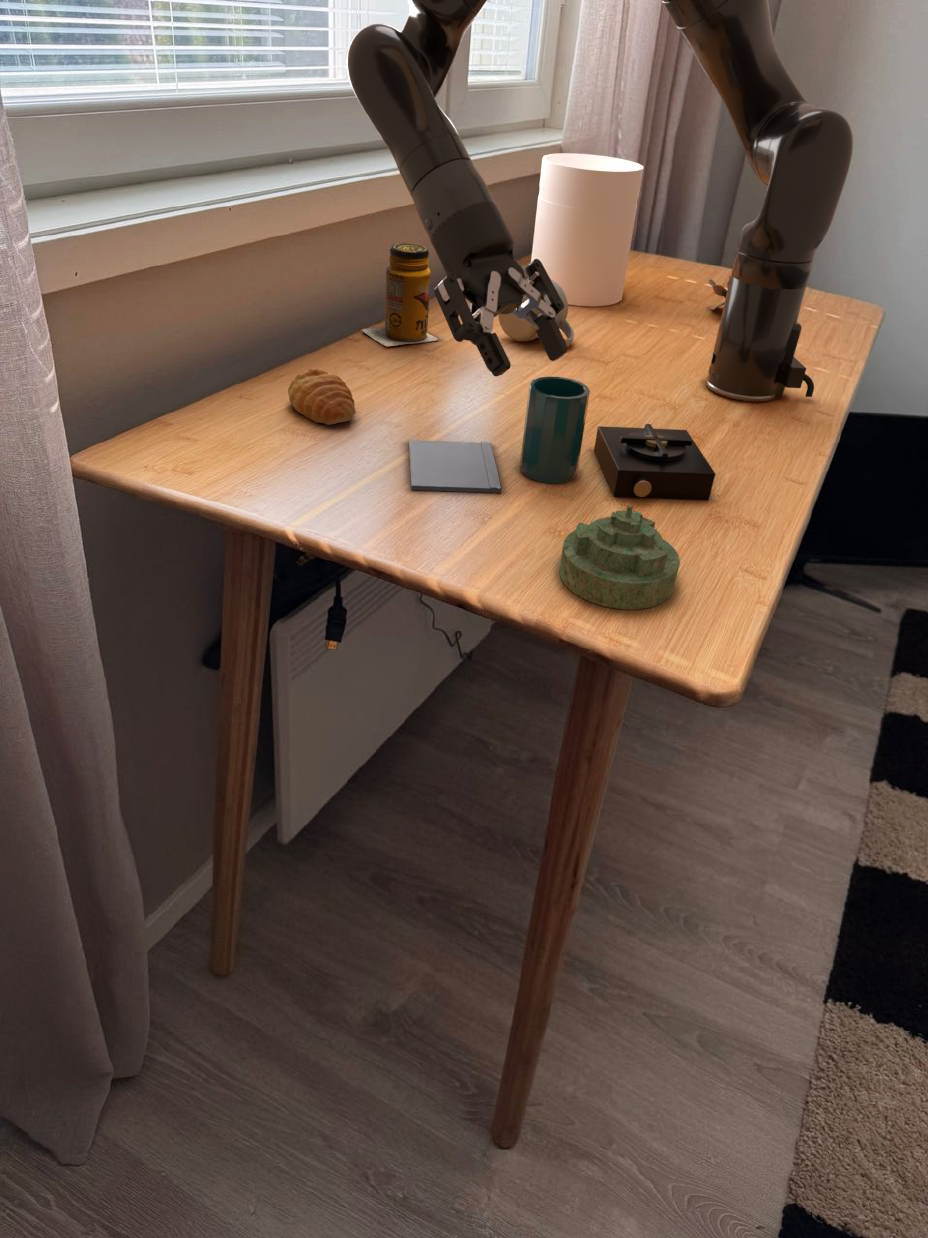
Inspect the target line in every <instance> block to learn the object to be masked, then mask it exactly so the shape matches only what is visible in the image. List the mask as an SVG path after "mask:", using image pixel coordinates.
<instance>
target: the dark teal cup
mask: <svg viewBox="0 0 928 1238" xmlns="http://www.w3.org/2000/svg"><path fill="white" fill-rule="evenodd" d="M590 394H591V390H590V388H589V386H588V385H587V384H585V383H583V382H581V381H579V380H576V379H573V378H568V377H562V376H541V377H536V378H535V379H532V380H531V381H530V382H529V384H528V393H527V401H526V409H525V417H524V426H523V434H522V443H521V452H520V460H519V462H520V463H519V464H520V465H519V470H520V472H521V473H522V475H523V476H525V477H526V478H528V479H530V480H533V481H535V482H539V483H543V484H565V483H569V482H571V481H572V480H574V479H575V478H576V477H577V474H578V469H579V464H580V459H581V452H582V451H581V449H582V444H583V439H584V438H583V437H584V432H585V425H586V418H587V413H588V407H589V401H590Z"/></svg>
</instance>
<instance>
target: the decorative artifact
mask: <svg viewBox="0 0 928 1238" xmlns="http://www.w3.org/2000/svg"><path fill="white" fill-rule="evenodd" d="M633 508H634V506H633V505H631V504H628V505H627V506H626V510H615V511H612V512H611V515H610V516H607V517H601V518H598V519H595V520H593V521H591V522H590V523H584V522H580V521H579V522H578V523H577V525H576V529H574V530H573V531H571V532H569V533H568V534H567V536H566V537H565V538H564V540H563V543H562V549H561V557H560V563H559V570H558V571H559V577H560V580H561V582H562V583H563V584H564V586H565V587H566V588H567V589H568V590H569V591H571V593H573V594H574V595H576V596H578V597H579V598H581V599H583V600H585V601H587V602H589V603H593V604H594V605H598V606H602V607H607V608H609V609H610V608H611V609H617V610H628V611H629V610H632V611H633V610H644V609H650V608H653V607H656V606H659V605H661V604H663V603H664V602H666V601H667V600H669V598H670V597H671V596H672V594H673V592H674V589H675V585H676V581H677V576H678V573H679V568H680V565H681V564H680V563H681V560H680V555H679V553H678V552H677V550H676V548H674V547H673V545H671V544H670V543H669V542H668V541H667V540H665V539H663V536H662V534H661V533H660V532H659V531H658V530H657V528H655V525H656V522H655V521H653V520H651V519H649V518H646V517H644V515H643V514H642V513H641V512H639V511H637V510H634V511H633Z"/></svg>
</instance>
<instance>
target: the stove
mask: <svg viewBox="0 0 928 1238" xmlns="http://www.w3.org/2000/svg"><path fill="white" fill-rule="evenodd" d="M593 452H594V455H595V457H596V459H597V461H598V464H599V466H600V468H601V470H602V473H603V476H604V478H605V480H606V483H607V484H608V486H609V489H610V491H611V494H612V495H613V497H614V498H636V499H637V498H638V499H665V500H667V499H668V500H692V501H693V500H695V501H697V500H698V501H709V500H710V497H711V493H712V489H713V487H714V482H715V478H716V472H715V471H714V469H713V468H712V466H711V464H710V463H709V461H708V460H707V459H706V457H705V456H704V454H703V453H702V451H701V450H700V448H699V447H698V445H697V444H696V442H695V441H694V439H693V438H692V436H691V435H690V433H689V432H688V430H687V429H674V428H653V425H652V424H651V423H645V425H644V427H629V426H627V427H625V426H623V427H622V426H602V425H601V426H600V425H599V426H597V431H596V435H595V441H594V447H593Z"/></svg>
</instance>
